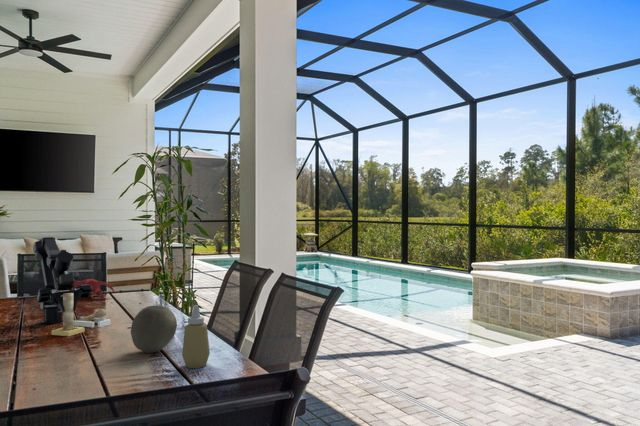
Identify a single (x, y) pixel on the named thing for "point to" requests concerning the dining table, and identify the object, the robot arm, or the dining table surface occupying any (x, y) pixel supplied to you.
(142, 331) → the grey egg-shaped stone
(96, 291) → the red toy dinosaur
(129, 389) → the dining table surface
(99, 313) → the figurine
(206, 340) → the squeeze bottle
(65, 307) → the post
